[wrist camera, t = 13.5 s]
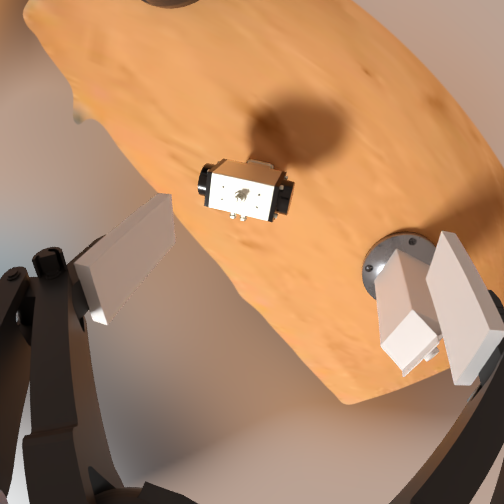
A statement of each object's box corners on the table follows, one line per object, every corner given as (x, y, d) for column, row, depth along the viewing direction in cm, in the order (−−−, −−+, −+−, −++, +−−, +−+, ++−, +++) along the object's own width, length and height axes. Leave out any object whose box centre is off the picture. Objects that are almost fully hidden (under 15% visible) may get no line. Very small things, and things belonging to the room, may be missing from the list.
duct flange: (371, 225, 48) (372, 229, 47) (450, 239, 45) (452, 242, 44) (354, 296, 55) (354, 300, 54) (425, 305, 52) (426, 310, 51)
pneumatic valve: (224, 149, 47) (192, 172, 37) (300, 165, 46) (290, 193, 36) (220, 182, 50) (189, 213, 40) (293, 199, 49) (281, 235, 39)
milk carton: (373, 280, 51) (381, 369, 35) (396, 247, 47) (417, 332, 31) (406, 295, 51) (422, 383, 35) (430, 264, 47) (458, 350, 31)
